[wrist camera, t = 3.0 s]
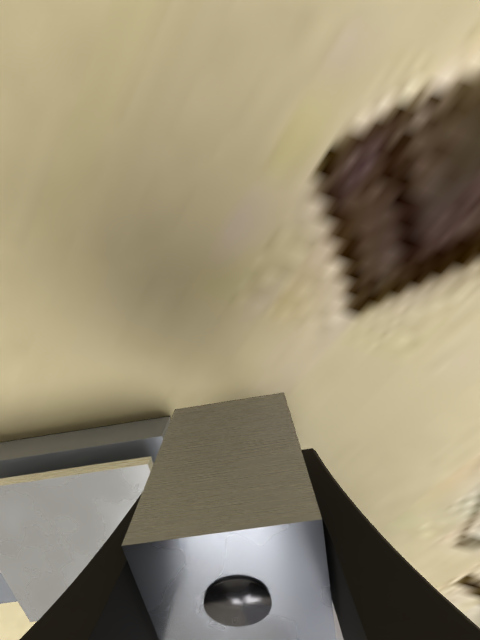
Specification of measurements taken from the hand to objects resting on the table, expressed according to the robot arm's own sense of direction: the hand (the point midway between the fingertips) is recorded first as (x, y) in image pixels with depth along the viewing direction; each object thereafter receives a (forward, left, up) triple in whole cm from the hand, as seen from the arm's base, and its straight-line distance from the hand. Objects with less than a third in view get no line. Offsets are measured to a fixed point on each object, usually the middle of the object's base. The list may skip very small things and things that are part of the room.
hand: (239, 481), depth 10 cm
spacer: (0, 0, -2) cm, 2 cm away
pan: (-9, +12, -7) cm, 17 cm away
